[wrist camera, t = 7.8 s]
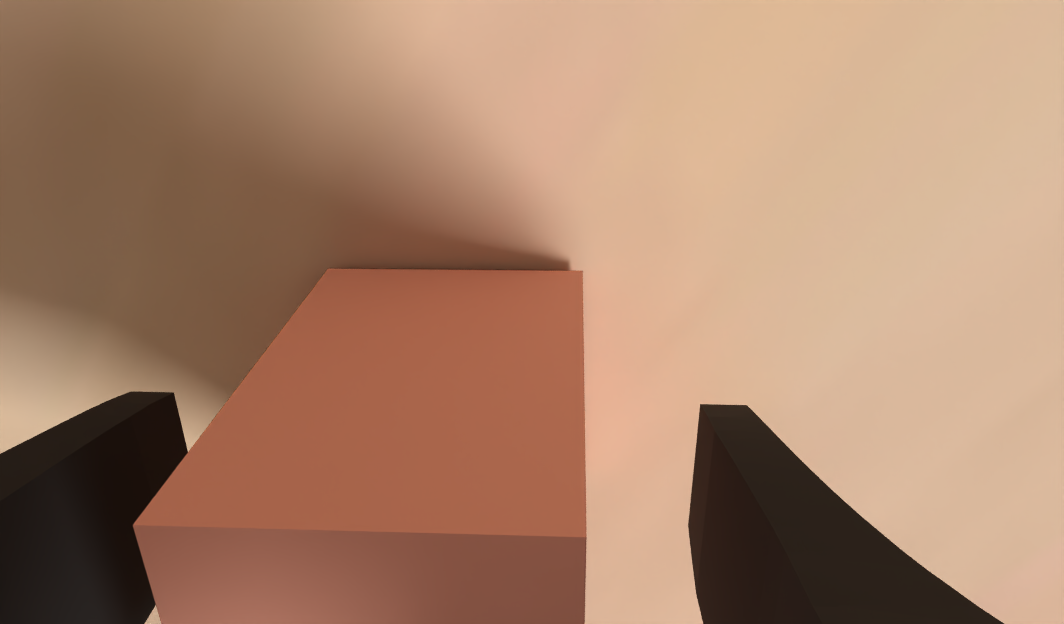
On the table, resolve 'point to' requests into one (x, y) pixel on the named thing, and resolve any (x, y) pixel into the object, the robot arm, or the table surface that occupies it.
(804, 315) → the table surface
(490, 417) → the block
